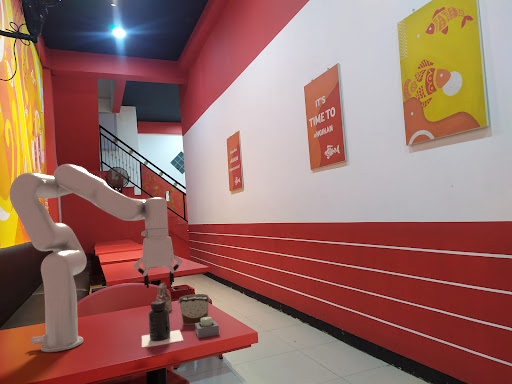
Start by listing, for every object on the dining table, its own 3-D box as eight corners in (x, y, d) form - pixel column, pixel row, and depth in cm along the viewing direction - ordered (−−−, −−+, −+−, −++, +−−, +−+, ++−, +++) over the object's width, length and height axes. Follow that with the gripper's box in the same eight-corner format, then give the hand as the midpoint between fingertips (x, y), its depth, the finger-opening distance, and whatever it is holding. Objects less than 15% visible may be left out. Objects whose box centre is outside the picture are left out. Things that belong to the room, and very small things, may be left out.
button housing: (198, 338, 120) (198, 328, 120) (195, 331, 127) (195, 323, 127) (219, 334, 122) (218, 325, 122) (215, 328, 129) (214, 320, 129)
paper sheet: (141, 347, 114) (141, 347, 114) (141, 336, 125) (141, 335, 125) (183, 341, 118) (183, 340, 118) (179, 330, 129) (179, 329, 129)
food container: (214, 318, 142) (213, 293, 142) (211, 323, 136) (209, 296, 136) (184, 320, 143) (182, 294, 144) (179, 324, 137) (177, 298, 137)
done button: (201, 329, 122) (201, 320, 122) (200, 326, 126) (199, 317, 126) (213, 328, 123) (213, 319, 123) (211, 324, 127) (210, 316, 127)
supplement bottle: (161, 333, 126) (159, 298, 127) (174, 336, 122) (172, 300, 123) (145, 340, 121) (143, 303, 121) (158, 342, 117) (156, 305, 118)
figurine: (152, 312, 158) (151, 285, 159) (160, 308, 165) (159, 281, 166) (167, 312, 156) (166, 284, 157) (174, 308, 163) (173, 281, 164)
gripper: (130, 236, 118) (132, 291, 117) (183, 232, 123) (186, 284, 122) (130, 235, 125) (132, 287, 124) (181, 231, 130) (184, 281, 129)
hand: (159, 285), depth 123 cm, fingers open, 7 cm apart
